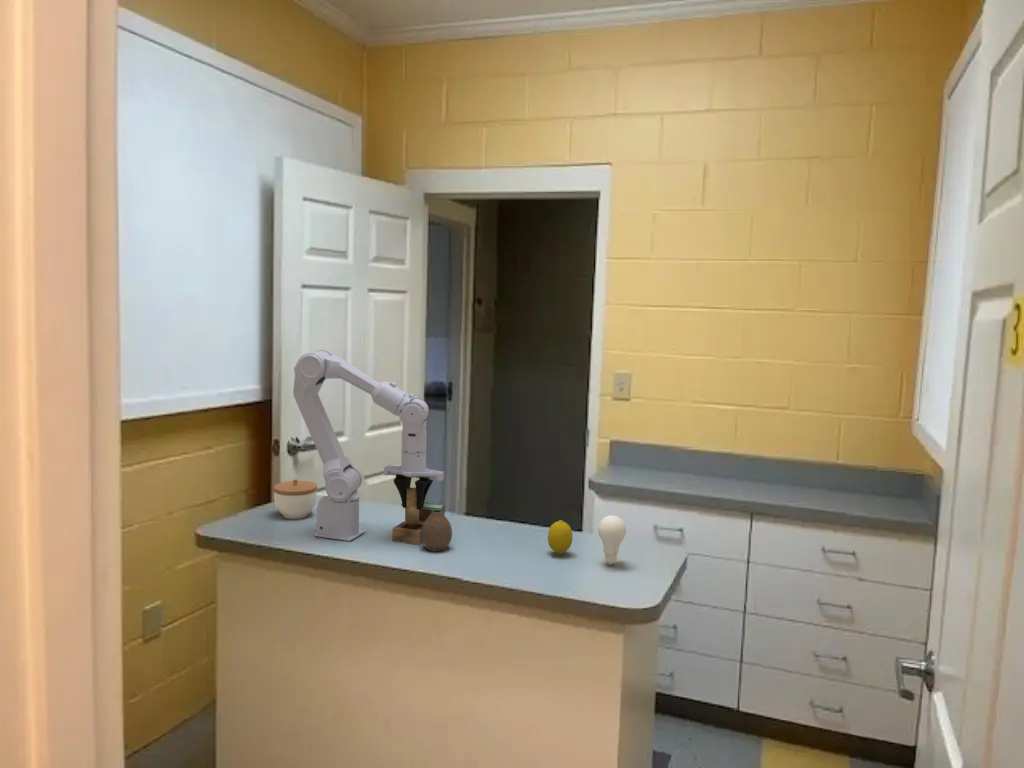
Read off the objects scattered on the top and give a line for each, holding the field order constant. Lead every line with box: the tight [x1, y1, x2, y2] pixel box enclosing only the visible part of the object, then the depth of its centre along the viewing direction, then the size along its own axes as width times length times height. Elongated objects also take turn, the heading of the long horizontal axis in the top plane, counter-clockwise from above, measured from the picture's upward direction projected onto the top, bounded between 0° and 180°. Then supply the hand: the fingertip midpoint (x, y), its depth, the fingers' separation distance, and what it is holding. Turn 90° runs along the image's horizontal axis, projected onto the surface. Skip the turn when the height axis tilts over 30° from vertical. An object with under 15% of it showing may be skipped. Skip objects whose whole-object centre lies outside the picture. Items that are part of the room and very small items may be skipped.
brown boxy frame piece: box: [391, 501, 446, 546], centre depth 184 cm, size 10×11×7 cm
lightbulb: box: [597, 515, 627, 566], centre depth 169 cm, size 6×6×11 cm
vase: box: [422, 510, 453, 552], centre depth 176 cm, size 7×7×9 cm
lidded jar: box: [273, 478, 318, 520], centre depth 197 cm, size 11×11×9 cm
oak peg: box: [406, 487, 419, 524], centre depth 181 cm, size 3×3×8 cm
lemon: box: [547, 519, 573, 556], centre depth 174 cm, size 6×6×8 cm
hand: (413, 507), depth 182 cm, fingers closed on oak peg, 3 cm apart
